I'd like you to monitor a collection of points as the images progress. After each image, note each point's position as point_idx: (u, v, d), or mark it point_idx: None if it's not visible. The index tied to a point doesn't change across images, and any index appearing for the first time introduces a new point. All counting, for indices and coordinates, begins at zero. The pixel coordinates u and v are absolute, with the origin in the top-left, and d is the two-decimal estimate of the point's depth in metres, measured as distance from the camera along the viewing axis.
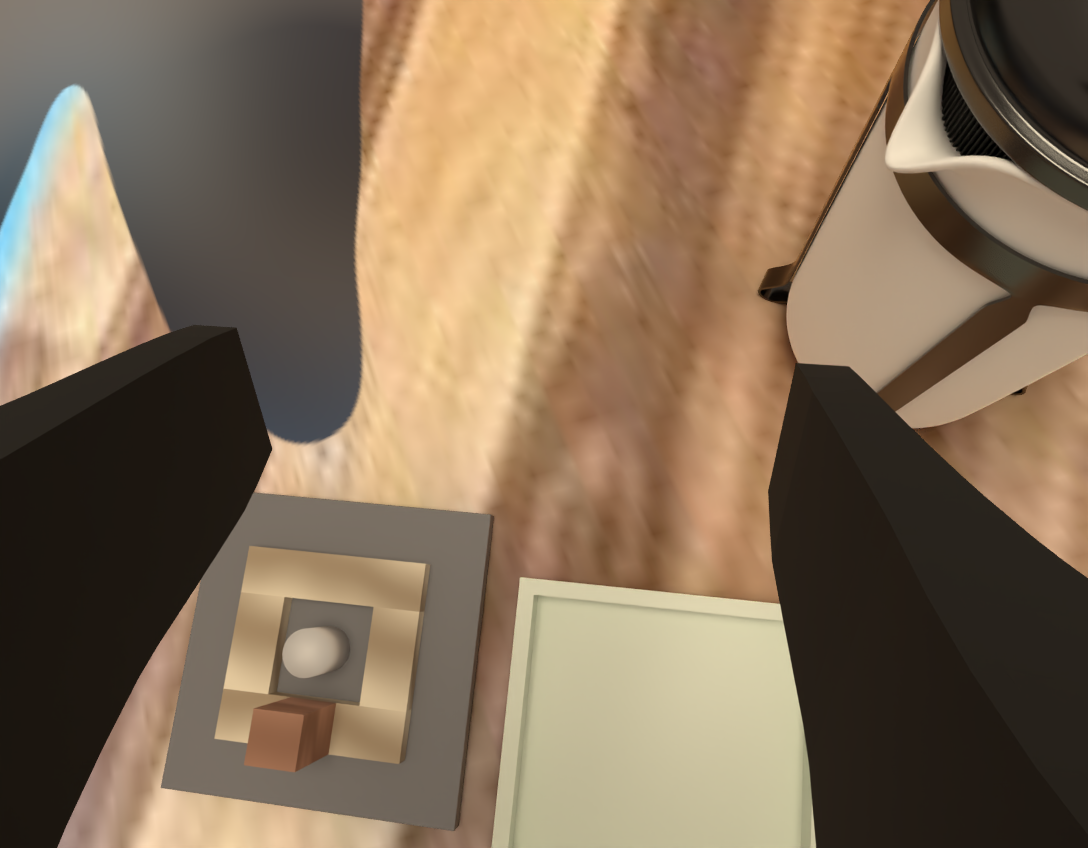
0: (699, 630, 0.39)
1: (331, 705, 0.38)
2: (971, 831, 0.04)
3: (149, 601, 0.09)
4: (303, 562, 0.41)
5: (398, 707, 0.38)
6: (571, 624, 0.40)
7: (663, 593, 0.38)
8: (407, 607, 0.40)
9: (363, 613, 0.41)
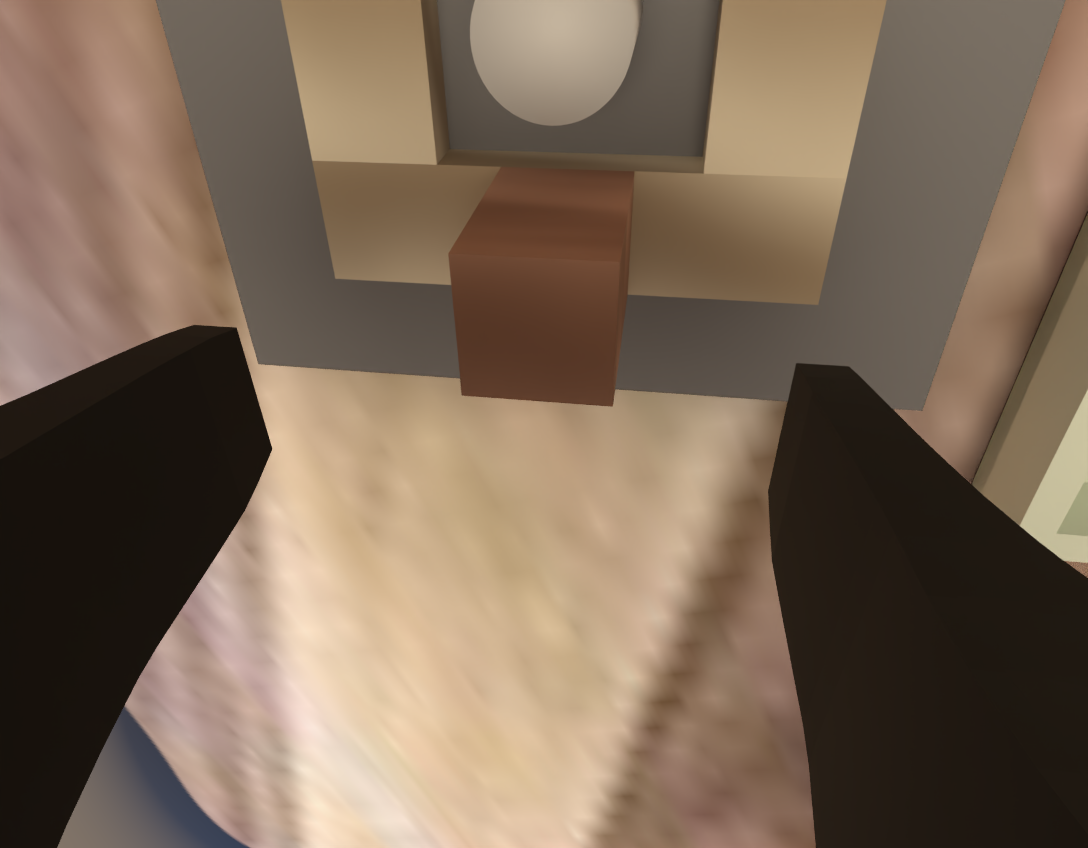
0: None
1: (631, 184, 0.13)
2: (971, 830, 0.04)
3: (149, 601, 0.09)
4: None
5: (823, 168, 0.13)
6: None
7: None
8: None
9: None
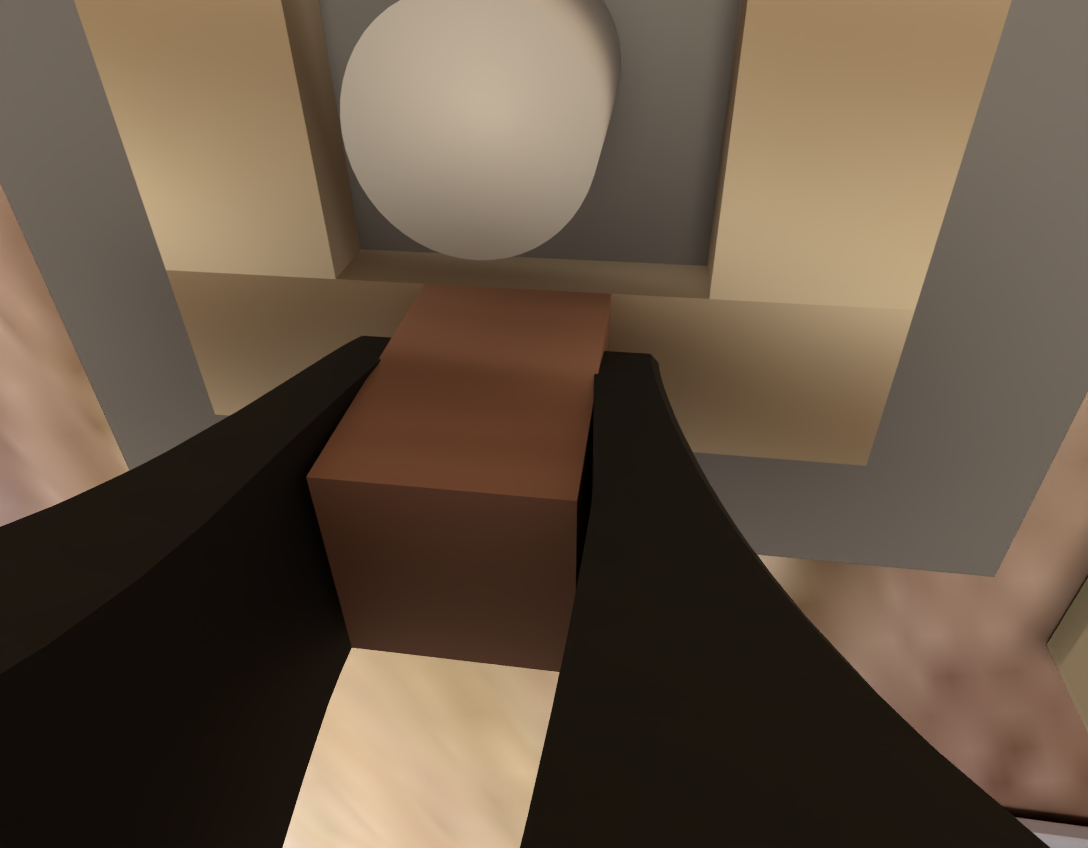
0: None
1: (606, 318, 0.09)
2: None
3: (338, 623, 0.08)
4: None
5: (881, 295, 0.09)
6: None
7: None
8: None
9: None
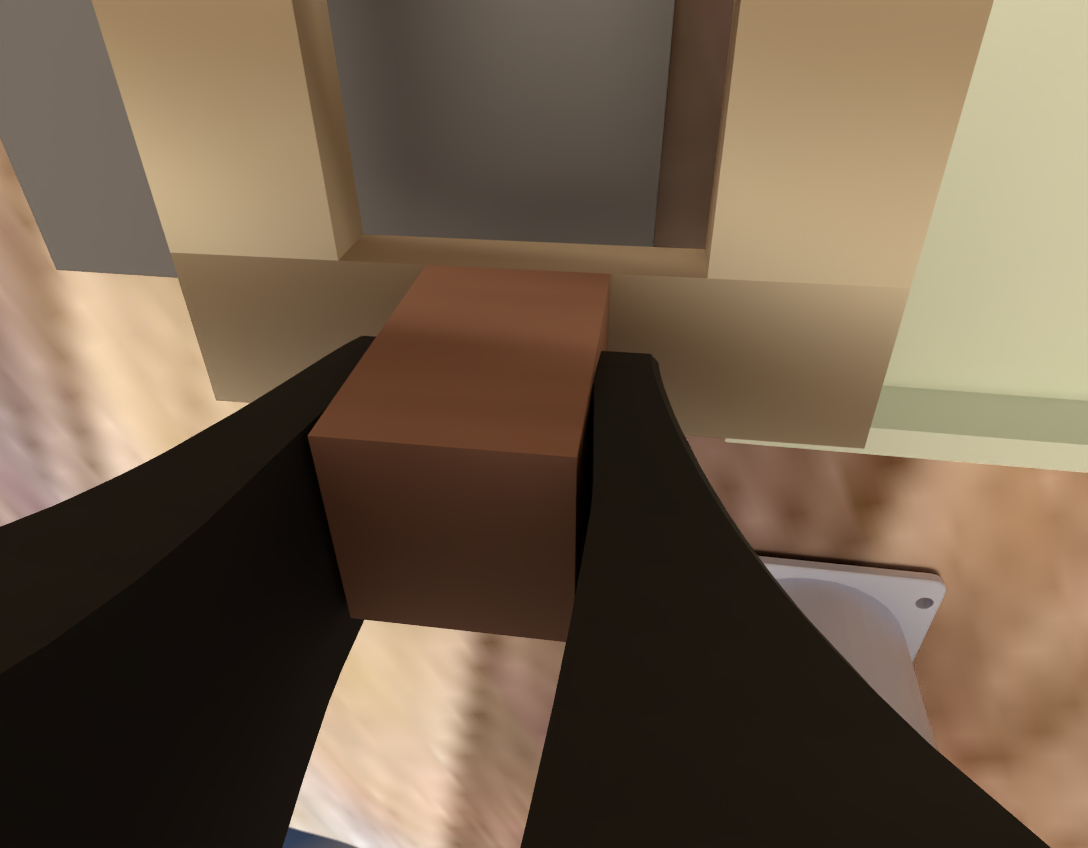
0: None
1: (605, 296, 0.09)
2: None
3: (338, 622, 0.08)
4: None
5: (877, 274, 0.09)
6: None
7: None
8: None
9: None
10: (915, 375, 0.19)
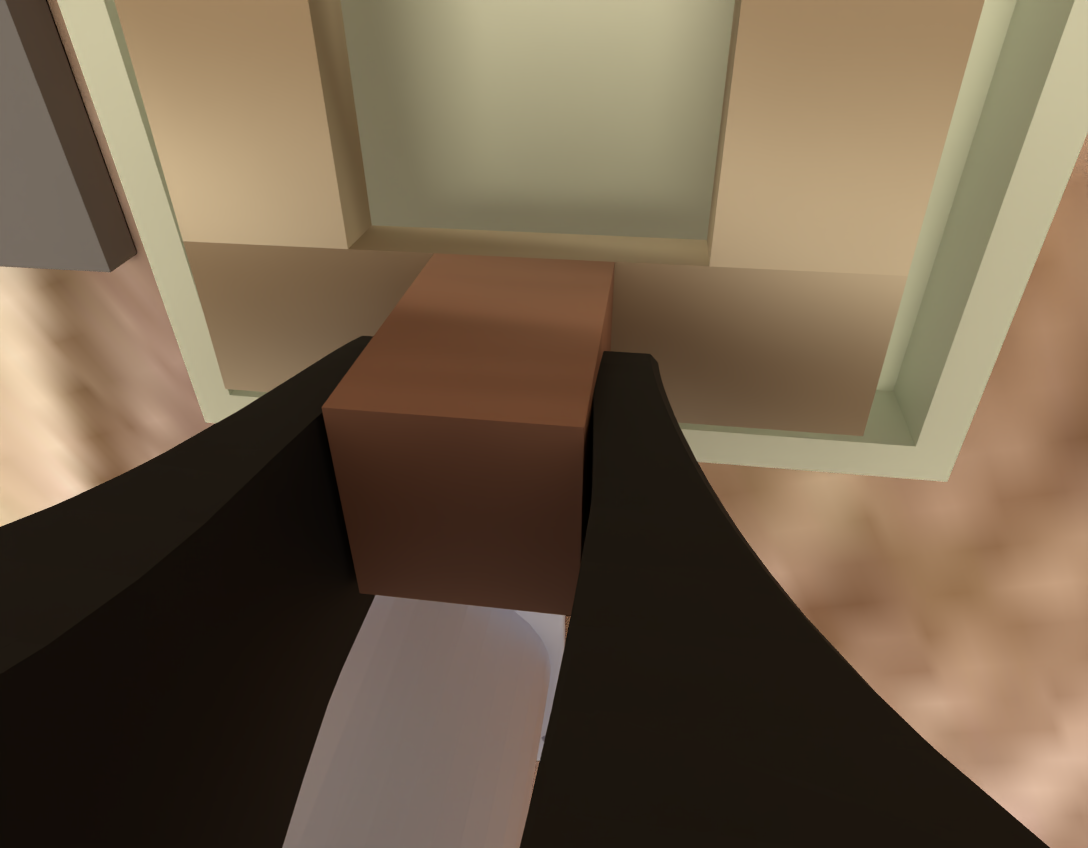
0: None
1: (610, 282, 0.10)
2: None
3: (338, 623, 0.08)
4: None
5: (875, 261, 0.10)
6: None
7: None
8: None
9: None
10: None
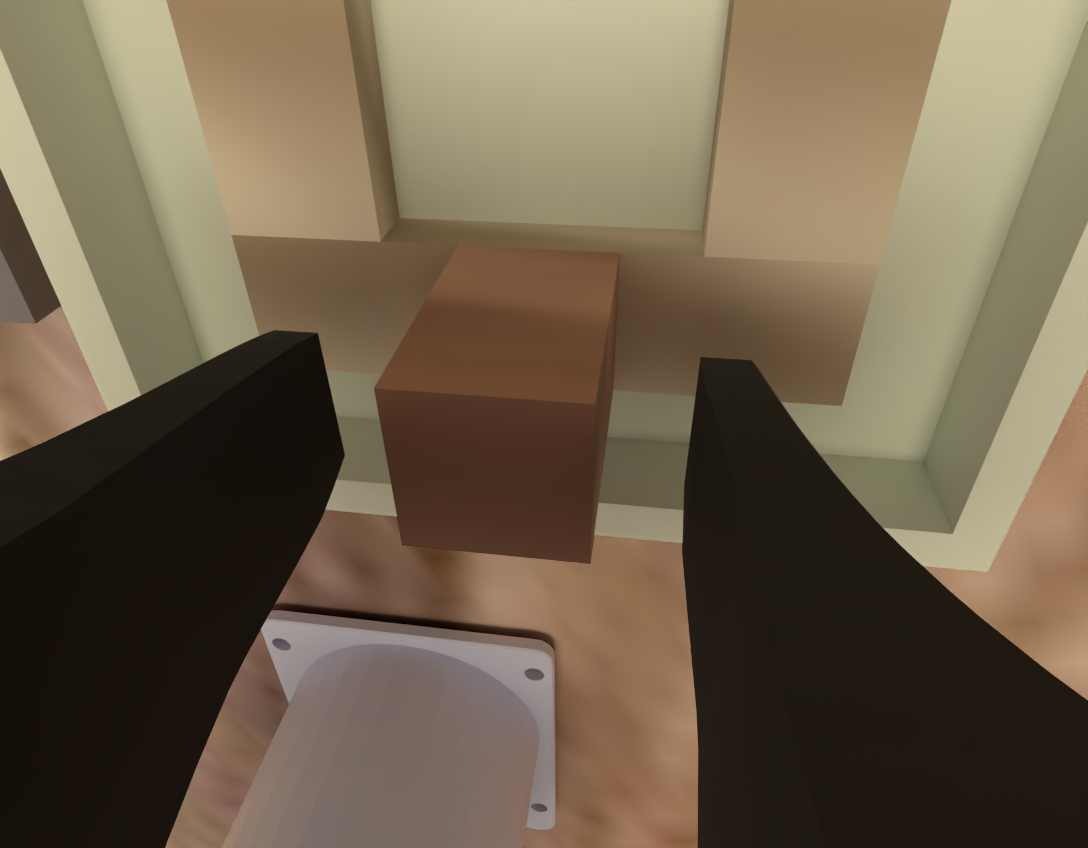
0: None
1: (616, 272, 0.11)
2: (763, 802, 0.04)
3: (239, 611, 0.08)
4: None
5: (851, 252, 0.11)
6: None
7: None
8: None
9: None
10: None
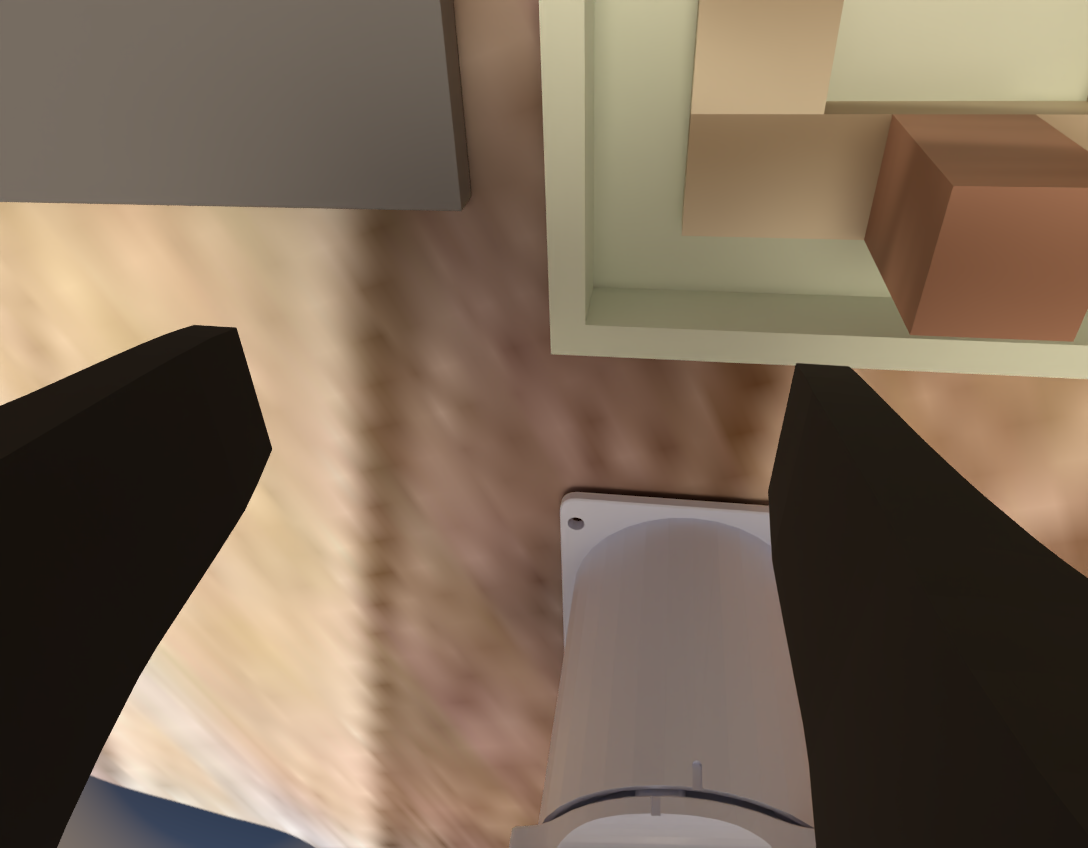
0: None
1: None
2: (970, 830, 0.04)
3: (149, 601, 0.09)
4: None
5: None
6: None
7: None
8: None
9: None
10: (759, 278, 0.18)
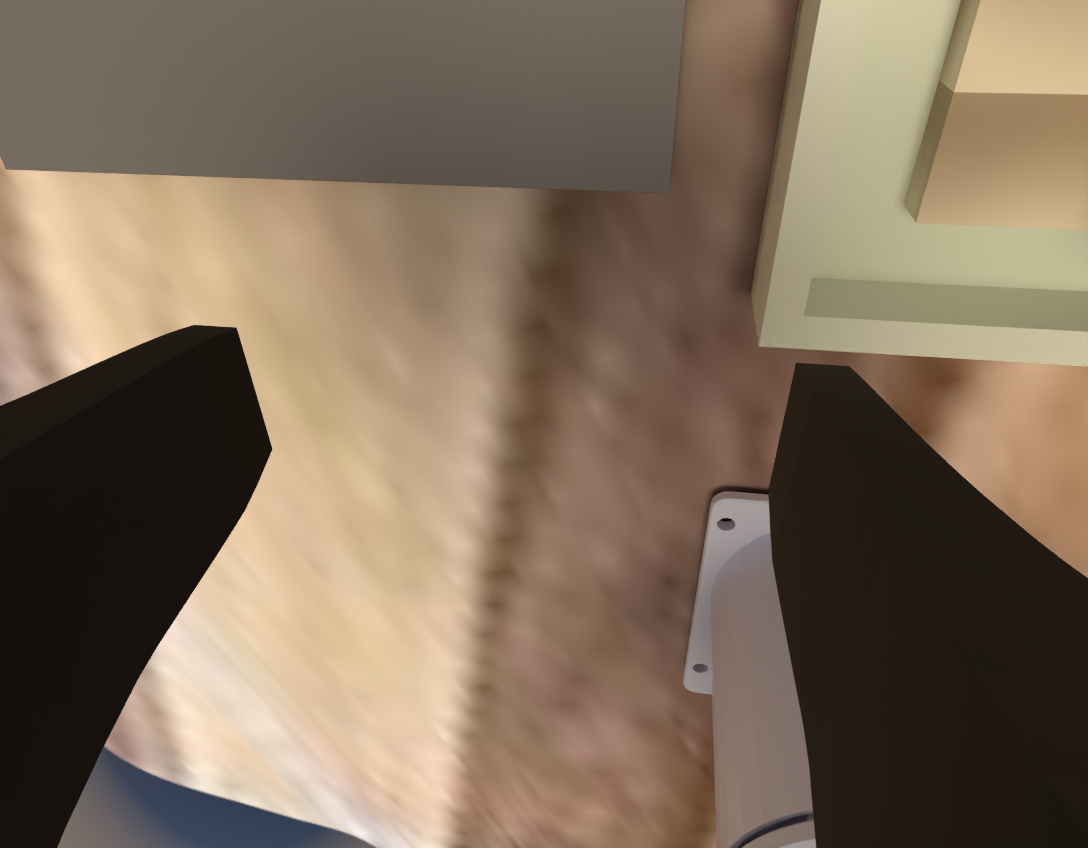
0: None
1: None
2: (971, 830, 0.04)
3: (149, 601, 0.09)
4: None
5: None
6: None
7: None
8: None
9: None
10: (976, 270, 0.17)
